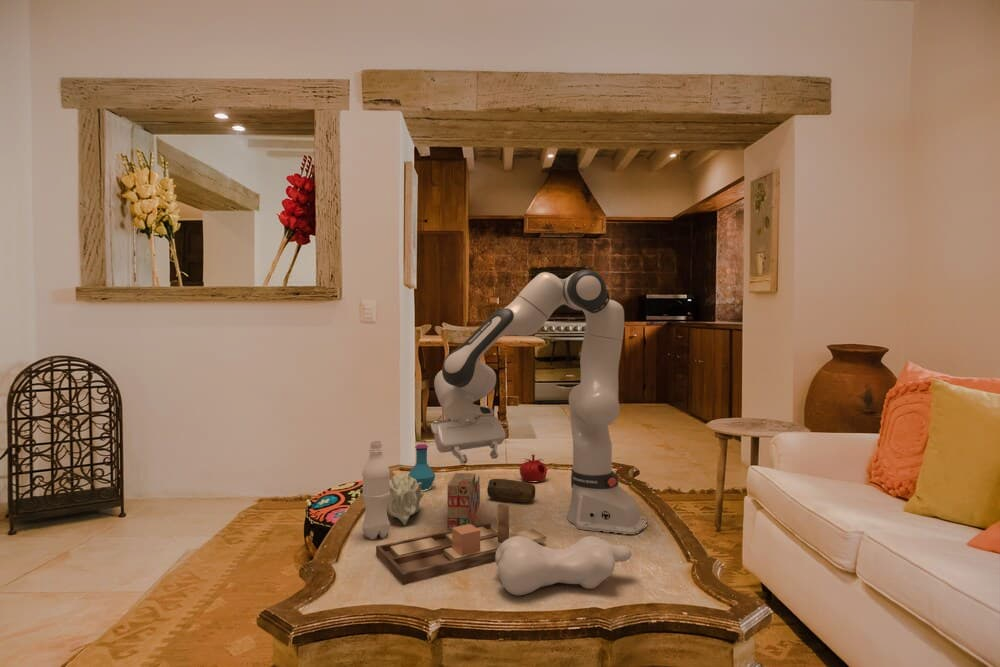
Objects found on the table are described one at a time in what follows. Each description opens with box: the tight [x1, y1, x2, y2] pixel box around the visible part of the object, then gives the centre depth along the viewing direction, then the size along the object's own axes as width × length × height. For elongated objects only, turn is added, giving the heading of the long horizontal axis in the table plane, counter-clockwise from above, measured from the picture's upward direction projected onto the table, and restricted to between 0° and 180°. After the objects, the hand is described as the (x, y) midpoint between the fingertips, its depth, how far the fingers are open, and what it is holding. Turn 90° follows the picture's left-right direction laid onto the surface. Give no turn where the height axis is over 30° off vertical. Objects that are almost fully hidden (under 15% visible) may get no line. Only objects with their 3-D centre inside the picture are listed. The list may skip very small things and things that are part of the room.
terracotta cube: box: [451, 524, 480, 556], centre depth 132 cm, size 5×5×5 cm
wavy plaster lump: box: [387, 474, 424, 526], centre depth 161 cm, size 18×13×16 cm
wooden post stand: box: [444, 502, 547, 561], centre depth 137 cm, size 26×6×10 cm, turn 121°
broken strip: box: [390, 526, 494, 557], centre depth 139 cm, size 26×6×1 cm, turn 121°
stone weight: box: [486, 478, 536, 503], centre depth 177 cm, size 15×7×7 cm, turn 77°
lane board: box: [375, 522, 498, 585], centre depth 135 cm, size 32×18×2 cm, turn 121°
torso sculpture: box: [494, 535, 633, 596], centre depth 121 cm, size 16×11×30 cm
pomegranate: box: [519, 454, 548, 482], centre depth 200 cm, size 10×10×9 cm
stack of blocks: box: [446, 472, 481, 529], centre depth 163 cm, size 21×6×12 cm, turn 174°
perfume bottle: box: [407, 443, 436, 490], centre depth 189 cm, size 9×9×15 cm
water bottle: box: [361, 440, 391, 540], centre depth 147 cm, size 7×7×25 cm
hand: (480, 459), depth 147 cm, fingers open, 8 cm apart
